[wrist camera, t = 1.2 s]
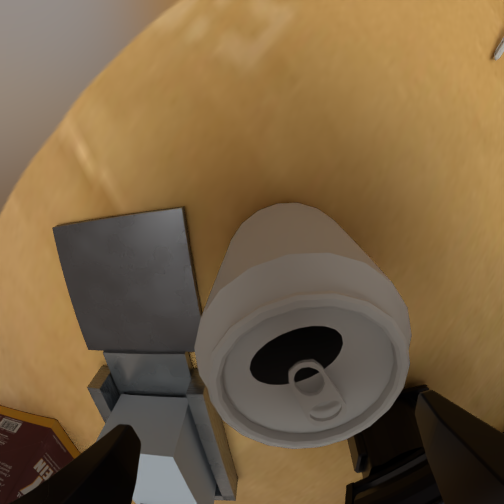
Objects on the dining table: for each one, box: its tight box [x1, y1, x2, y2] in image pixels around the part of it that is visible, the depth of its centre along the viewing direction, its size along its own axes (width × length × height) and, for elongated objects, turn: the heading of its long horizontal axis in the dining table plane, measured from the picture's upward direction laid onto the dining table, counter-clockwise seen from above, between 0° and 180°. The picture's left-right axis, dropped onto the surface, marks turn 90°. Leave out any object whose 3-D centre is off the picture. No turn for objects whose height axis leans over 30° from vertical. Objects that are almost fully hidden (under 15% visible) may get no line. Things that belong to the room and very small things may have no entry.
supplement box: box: [0, 406, 80, 504], centre depth 21 cm, size 10×15×16 cm
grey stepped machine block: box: [96, 394, 217, 504], centre depth 21 cm, size 6×12×7 cm, turn 6°
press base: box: [53, 207, 238, 501], centre depth 22 cm, size 10×28×3 cm, turn 6°
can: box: [194, 203, 412, 449], centre depth 14 cm, size 8×8×12 cm
